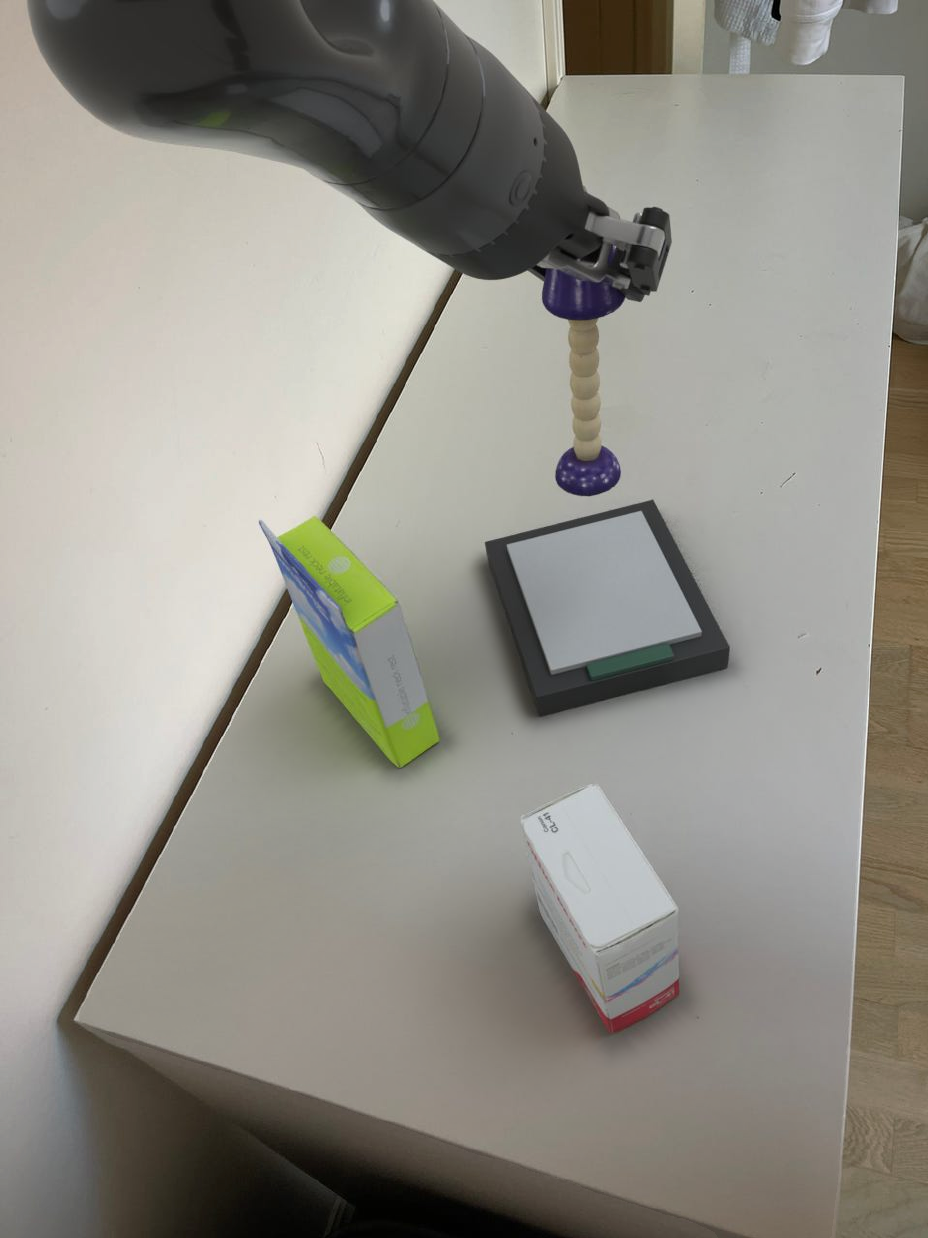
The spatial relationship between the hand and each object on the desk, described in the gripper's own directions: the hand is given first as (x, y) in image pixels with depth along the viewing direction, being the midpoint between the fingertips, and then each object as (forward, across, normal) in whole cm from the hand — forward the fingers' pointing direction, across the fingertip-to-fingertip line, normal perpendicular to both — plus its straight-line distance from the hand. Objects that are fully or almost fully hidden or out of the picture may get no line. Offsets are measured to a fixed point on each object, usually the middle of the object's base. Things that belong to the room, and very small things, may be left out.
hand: (598, 273), depth 56 cm
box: (+8, +10, +32) cm, 34 cm away
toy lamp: (+8, 0, +11) cm, 13 cm away
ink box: (+2, -12, +38) cm, 39 cm away
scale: (+18, 0, +21) cm, 28 cm away
